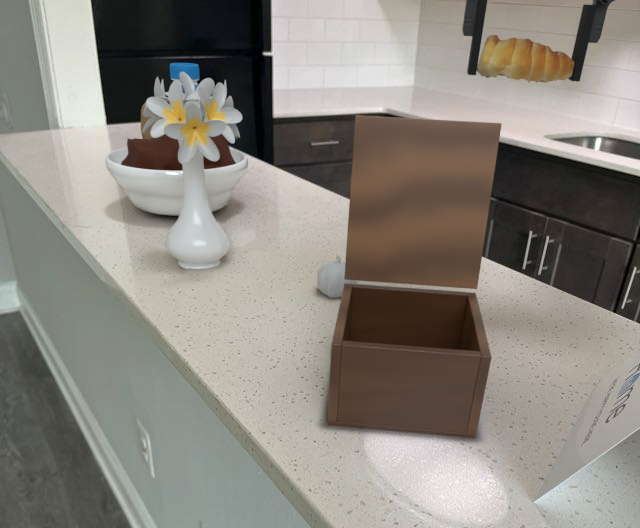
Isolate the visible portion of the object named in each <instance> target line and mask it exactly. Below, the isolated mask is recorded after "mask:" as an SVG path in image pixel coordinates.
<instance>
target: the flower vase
mask: <svg viewBox="0 0 640 528" xmlns="http://www.w3.org/2000/svg"><path fill="white" fill-rule="evenodd" d="M179 77H180V81H181V84H182V86H183V88H184V90H185V94H184V93H183V91H182V86H181V84H180V82H179V81H174V80H172V81H171V83H170V86H169V89H168V91H165V84H164V78H162V79H161V81H160V79H159V76H156V78H155V80H154V81H155V82H154V86H153V94H154V95H153V96H149V97H148V98H147V99H146V101H145V103H146V105H147V106H146V107H145V109H144V112H143V116H144V117H152V118H150V119H149V120H148V121H147V122H146V124H145V126H144V128H143V130H142V133H143V132H144V131H145V130H147V129H148V128H149V127H150V126H151V125H152V124H153V123H155V122H156V121H157V120H158V121H157V122H156V123H155V124H154V125H153V127H152V129H151V132H150V134H151V136H152V137H153V138H157V137H160V136H162V135H164V134H166V135H167V136H169V137H171V138H173V139H178V143H179V147H180V148H179V151H178V160H179V162H180V163H181V164H182V170H183V204H182V209H181V212H180V215H179V216H178V218H177V219H176V221H175V222H174V223H173V224H172V225H171V227H170V229H169V230H168V232H167V234H166V237H165V245H166V250H167V252H169V254H170V255H171V256H172V257H173V258H175V259H176V260H177V263H178V266H179V267H180V268H181V269H184V270H186V271H188V270H189V269H192V270H193V269H194V270H201V269H202V270H205V269H210V268H214V267H216V266H219V265H220V264H221V259H222V258H223V257H225V255H227V253H228V251H229V250H230V246H231V238H230V235H229V234H228V232H227V230H226V229H225V227H224V226H223V225H222V224H221V223H220V222H219V221H218V220H217V219H216V218H215V216H214V214H213V212H211V209H210V207H209V204H208V199H207V193H206V184H205V174H204V156H205V157H206V158H207V159H209V160H211V161H218V160H219V158H220V154H219V151H218V149H217V147H216V145H215V144H214V142H213V141H212V140H211V139H210V137H209V136H211V137H215V136H218V135H220V134H222V135H223V136H224V137H225V138H226V139H227V141H228V143H230V144H232V145H233V144H235V142H236V139H237V140H238V138H239V139H241V135H240V131H239V128H238V126H237V124H239V123H241V122H242V121H243V114H242V113H241V112H240V111H239V110H238V109H236V108H235V107H234V100H233V97H232V96H231V95H228V88H227V80H226V79H224V83H222V82H217V83H216V85H215V81H214V80H213V78H211V77H206V78H204V79H202V80H201V81H200V82H199V83H198V87H197V89H196V90H195V85H194V83H193V81H192V79H191V78H190V77H189V76H188V75H187V74H186V73H185V72H180V74H179ZM227 95H228V97H227ZM161 117H162V118H163V119H160V118H161ZM159 119H160V120H159Z"/></svg>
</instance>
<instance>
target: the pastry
mask: <svg viewBox="0 0 640 528" xmlns="http://www.w3.org/2000/svg"><path fill="white" fill-rule="evenodd" d="M574 65H575V63H574V61H573V60H572V57H570V56H569V55H568V54H567V53H565V52H563V51H560V50H559V51H557V50H556V51H554V50H553V49H552V48H551V46H549V45H545V44H542V43H540V42H535V41H533V40H532V39H530V38H517V37H510V38H507V39H500V38H499V35H498V34H492V35H491V34H490V35H488V36H487V37H486V40H485V42H484V44H483V47H482V50H481V53H480V55H479V58H478V65H477V71H476V73H478V74H479V75H480V76H481V77H485V78H487V79H489V78H492V77H493V78H497V77H498V76H501V77H506V78H507V79H510V80H516V81H519V80H524V81H527V82H528V83H530V82H535V83H536V84H537V83H545V84H546V83H548V82H554V81H555V82H556V81H566V80H569V79H568V78H570V77H571V76H572V73H573V69H574Z"/></svg>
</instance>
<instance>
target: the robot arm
mask: <svg viewBox="0 0 640 528" xmlns="http://www.w3.org/2000/svg"><path fill="white" fill-rule="evenodd" d="M615 1H616V0H592V4H583V5H582V10H581V13H580V18H579V22H578V27H577V32H576V36H575V41H574V46H573V50H572V54H571V59H572V60H573V61H574V63H575V65H574V69H573V73H572V76H571V77H570V78H568V79H567V80H569V81H571V82H580V81H581V77H582V73H583V68H584V64H585V60H586V55H587V52H588V47H589V44H598V42H599V41H600V39H601V37H602V32H603V29H604V24H605V20H606V16H607V11H608V8H609V6H610V5H611V4H612V3H613V2H615ZM487 6H488V0H465V5H464V14H463V22H462V28H461V29H462V36H464V37H471V42H470V50H469V56H468V64H467V71H466V74H467V75H468V76H476V75H477V65H478V63H479V59H480V51H481V45H482V38H483V32H484V25H485V19H486V11H487Z"/></svg>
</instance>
